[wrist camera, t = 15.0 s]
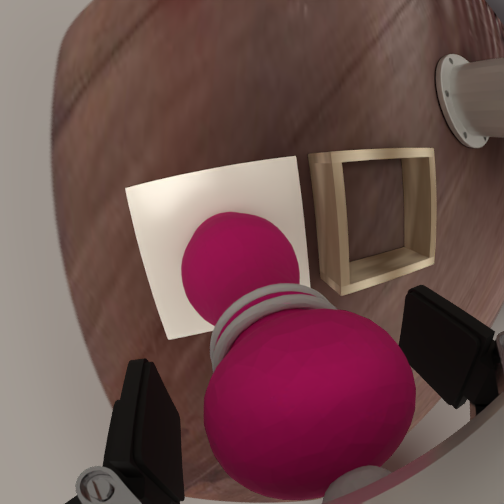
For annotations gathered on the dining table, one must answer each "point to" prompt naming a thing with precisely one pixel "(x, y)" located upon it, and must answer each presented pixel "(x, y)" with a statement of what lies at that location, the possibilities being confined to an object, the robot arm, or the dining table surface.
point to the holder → (335, 218)
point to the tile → (200, 209)
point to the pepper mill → (291, 369)
